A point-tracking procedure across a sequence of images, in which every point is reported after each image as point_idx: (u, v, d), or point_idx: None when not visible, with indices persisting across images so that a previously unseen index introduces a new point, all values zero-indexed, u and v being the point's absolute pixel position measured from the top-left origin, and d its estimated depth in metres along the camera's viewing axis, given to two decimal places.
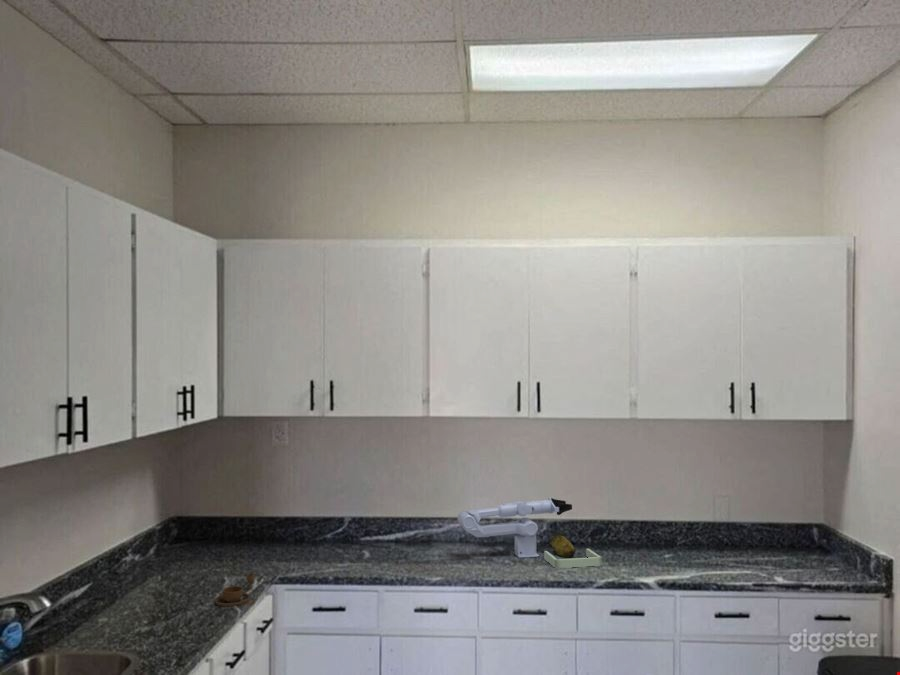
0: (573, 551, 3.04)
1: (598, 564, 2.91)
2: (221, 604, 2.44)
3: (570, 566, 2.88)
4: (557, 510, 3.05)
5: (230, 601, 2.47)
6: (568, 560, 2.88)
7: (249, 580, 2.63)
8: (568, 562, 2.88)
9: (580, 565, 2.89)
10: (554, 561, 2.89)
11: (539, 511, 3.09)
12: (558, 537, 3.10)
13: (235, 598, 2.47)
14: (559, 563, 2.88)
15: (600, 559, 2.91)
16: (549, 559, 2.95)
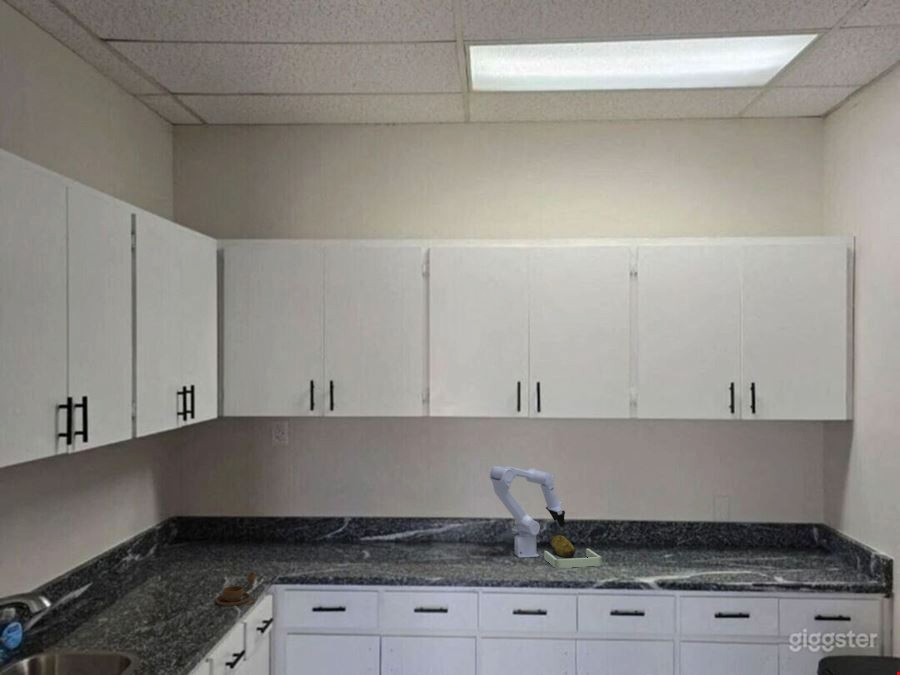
0: (573, 551, 3.04)
1: (598, 564, 2.91)
2: (221, 603, 2.44)
3: (570, 566, 2.88)
4: (559, 513, 3.12)
5: (230, 600, 2.47)
6: (568, 560, 2.88)
7: (250, 579, 2.63)
8: (568, 562, 2.88)
9: (580, 565, 2.89)
10: (554, 561, 2.89)
11: (551, 496, 3.15)
12: (558, 537, 3.10)
13: (235, 597, 2.47)
14: (559, 563, 2.88)
15: (600, 559, 2.91)
16: (549, 559, 2.95)
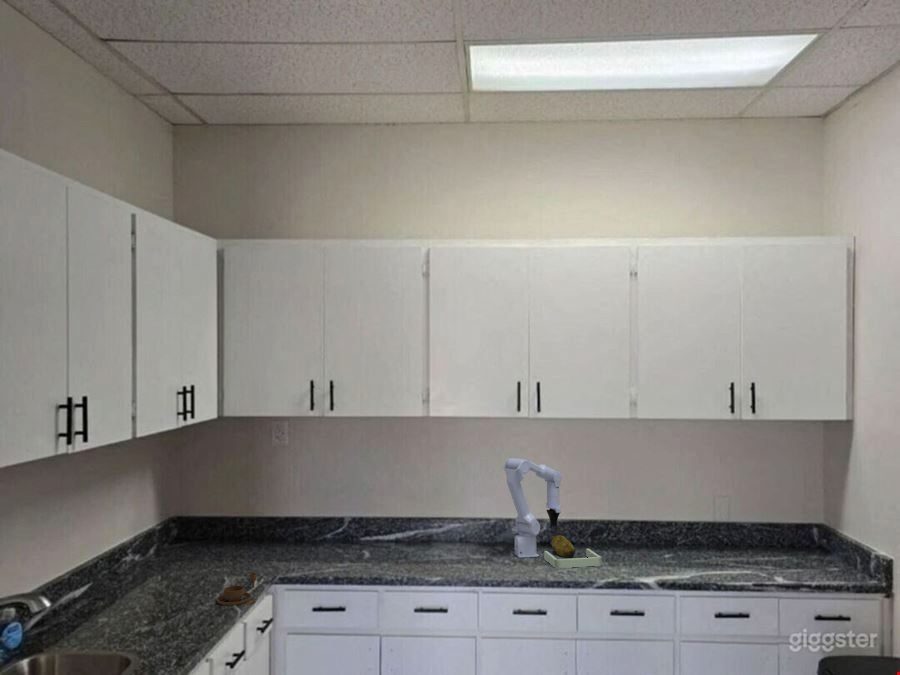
0: (573, 551, 3.04)
1: (598, 564, 2.91)
2: (222, 603, 2.45)
3: (570, 566, 2.88)
4: (557, 511, 3.14)
5: (231, 600, 2.48)
6: (568, 560, 2.88)
7: (252, 579, 2.63)
8: (568, 562, 2.88)
9: (580, 565, 2.89)
10: (554, 561, 2.89)
11: (555, 494, 3.19)
12: (558, 537, 3.10)
13: (236, 597, 2.47)
14: (559, 563, 2.88)
15: (600, 559, 2.91)
16: (549, 559, 2.95)
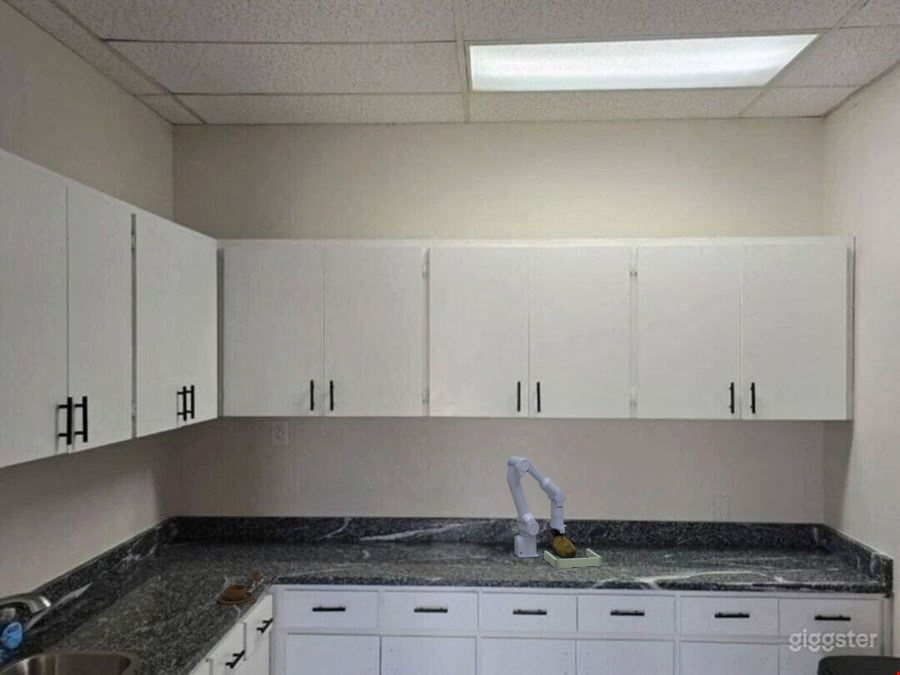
0: (575, 552, 3.02)
1: (598, 564, 2.91)
2: (224, 602, 2.46)
3: (570, 566, 2.88)
4: (562, 531, 3.09)
5: (233, 599, 2.49)
6: (568, 560, 2.88)
7: (254, 579, 2.64)
8: (568, 562, 2.88)
9: (580, 565, 2.89)
10: (554, 561, 2.89)
11: (557, 514, 3.14)
12: (559, 538, 3.09)
13: (238, 596, 2.48)
14: (559, 563, 2.88)
15: (600, 559, 2.91)
16: (549, 559, 2.95)
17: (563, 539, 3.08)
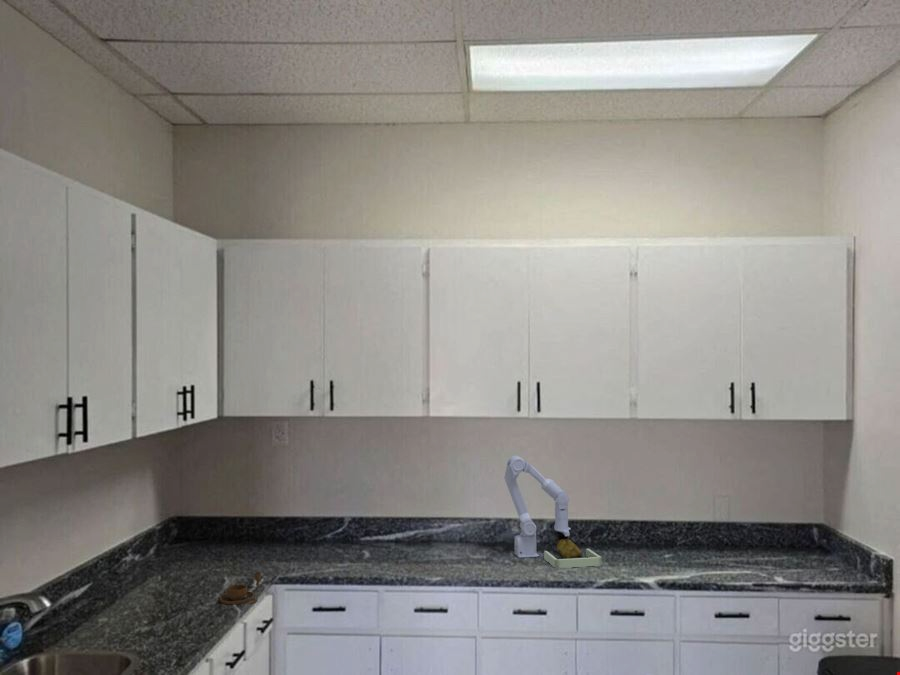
0: (580, 555, 2.97)
1: (598, 564, 2.91)
2: (224, 602, 2.46)
3: (570, 566, 2.88)
4: (566, 534, 3.03)
5: (234, 599, 2.49)
6: (568, 560, 2.88)
7: (256, 578, 2.64)
8: (568, 562, 2.88)
9: (580, 565, 2.89)
10: (554, 561, 2.89)
11: (559, 516, 3.08)
12: (564, 541, 3.03)
13: (238, 596, 2.49)
14: (559, 563, 2.88)
15: (600, 559, 2.91)
16: (549, 559, 2.95)
17: (568, 542, 3.02)
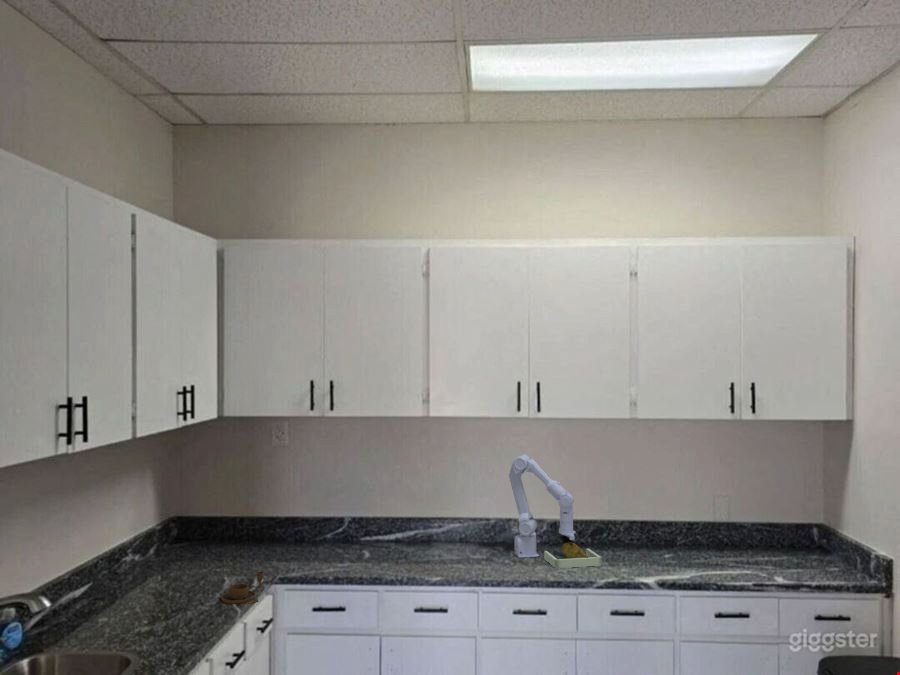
0: None
1: (598, 564, 2.91)
2: (226, 601, 2.47)
3: (570, 566, 2.88)
4: (571, 538, 2.96)
5: (235, 598, 2.50)
6: (568, 560, 2.88)
7: (259, 578, 2.65)
8: (568, 562, 2.88)
9: (580, 565, 2.89)
10: (554, 561, 2.89)
11: (562, 519, 3.02)
12: (569, 544, 2.98)
13: (240, 595, 2.49)
14: (559, 563, 2.88)
15: (600, 559, 2.91)
16: (549, 559, 2.95)
17: (573, 545, 2.97)
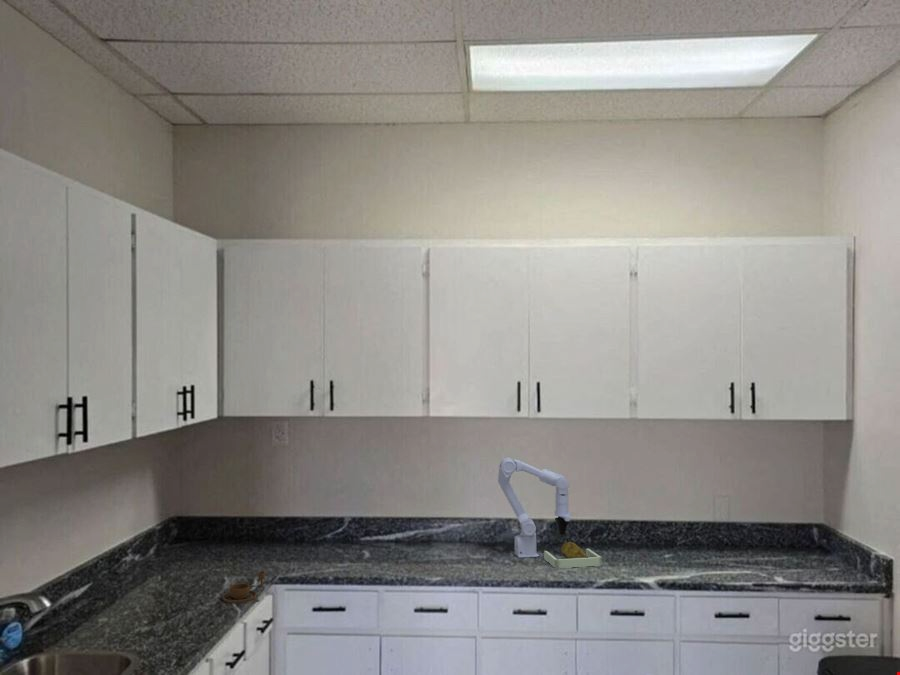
0: None
1: (598, 564, 2.91)
2: (226, 601, 2.48)
3: (570, 566, 2.88)
4: (567, 519, 3.02)
5: (236, 598, 2.50)
6: (568, 560, 2.88)
7: (260, 578, 2.65)
8: (568, 562, 2.88)
9: (580, 565, 2.89)
10: (554, 561, 2.89)
11: (559, 501, 3.08)
12: (569, 544, 2.98)
13: (241, 595, 2.50)
14: (559, 563, 2.88)
15: (600, 559, 2.91)
16: (549, 559, 2.95)
17: (573, 545, 2.97)
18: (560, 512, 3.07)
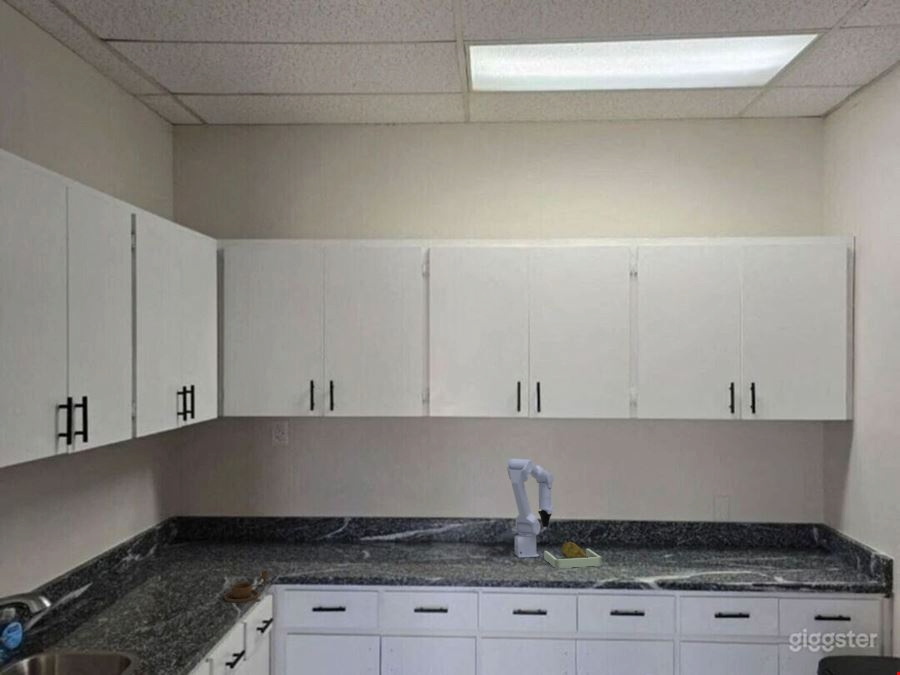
0: None
1: (598, 564, 2.91)
2: (228, 600, 2.48)
3: (570, 566, 2.88)
4: (549, 512, 3.17)
5: (238, 597, 2.51)
6: (568, 560, 2.88)
7: (263, 577, 2.66)
8: (568, 562, 2.88)
9: (580, 565, 2.89)
10: (554, 561, 2.89)
11: (548, 495, 3.22)
12: (569, 544, 2.98)
13: (242, 595, 2.50)
14: (559, 563, 2.88)
15: (600, 559, 2.91)
16: (549, 559, 2.95)
17: (573, 545, 2.97)
18: (543, 505, 3.21)
